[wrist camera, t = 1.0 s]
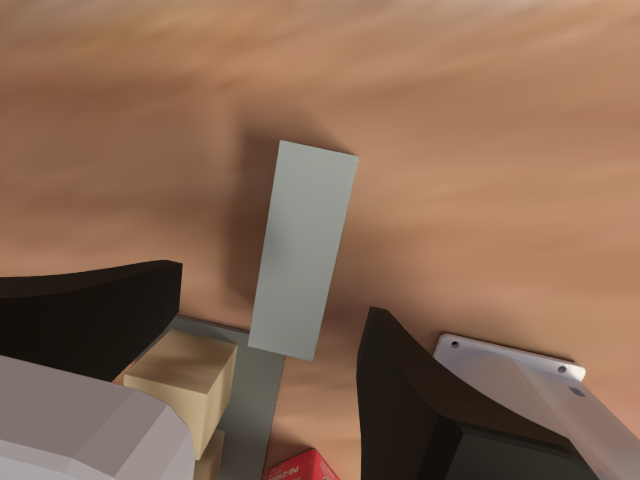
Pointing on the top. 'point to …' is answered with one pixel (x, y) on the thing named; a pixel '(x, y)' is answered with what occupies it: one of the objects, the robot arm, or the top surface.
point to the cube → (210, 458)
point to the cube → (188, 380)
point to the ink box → (302, 468)
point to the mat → (241, 398)
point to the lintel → (300, 247)
